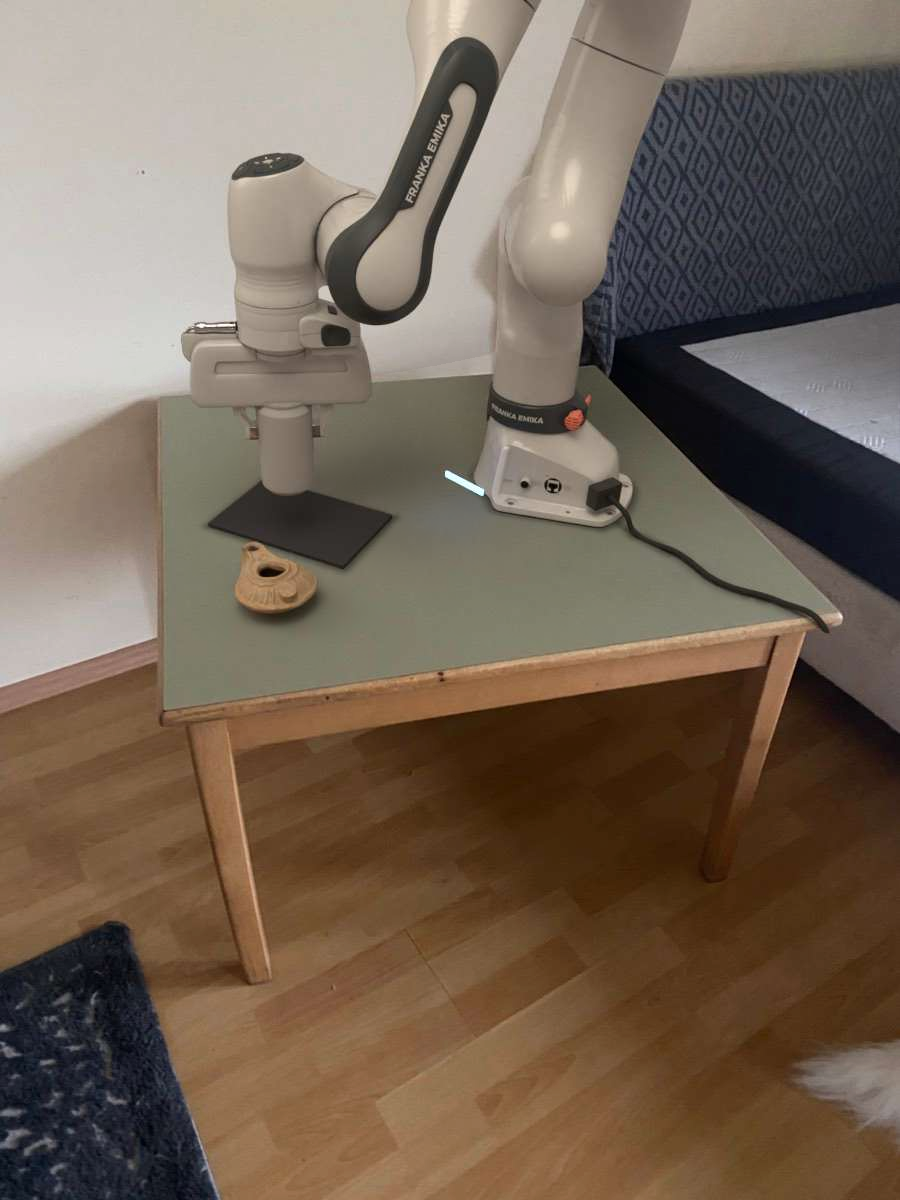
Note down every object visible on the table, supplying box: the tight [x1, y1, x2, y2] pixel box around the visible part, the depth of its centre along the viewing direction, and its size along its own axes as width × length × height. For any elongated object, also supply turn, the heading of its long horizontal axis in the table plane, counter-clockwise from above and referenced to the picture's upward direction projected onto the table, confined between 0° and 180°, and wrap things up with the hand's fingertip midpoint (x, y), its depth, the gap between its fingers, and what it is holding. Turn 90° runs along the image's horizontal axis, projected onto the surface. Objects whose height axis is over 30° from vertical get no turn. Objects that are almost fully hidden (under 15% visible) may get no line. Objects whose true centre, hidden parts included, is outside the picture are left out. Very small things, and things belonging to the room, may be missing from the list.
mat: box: [207, 479, 393, 570], centre depth 114 cm, size 20×13×1 cm, turn 66°
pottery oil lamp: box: [234, 541, 319, 614], centre depth 100 cm, size 9×12×7 cm
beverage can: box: [254, 402, 316, 496], centre depth 103 cm, size 6×6×12 cm
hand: (285, 436), depth 103 cm, fingers closed on beverage can, 6 cm apart
